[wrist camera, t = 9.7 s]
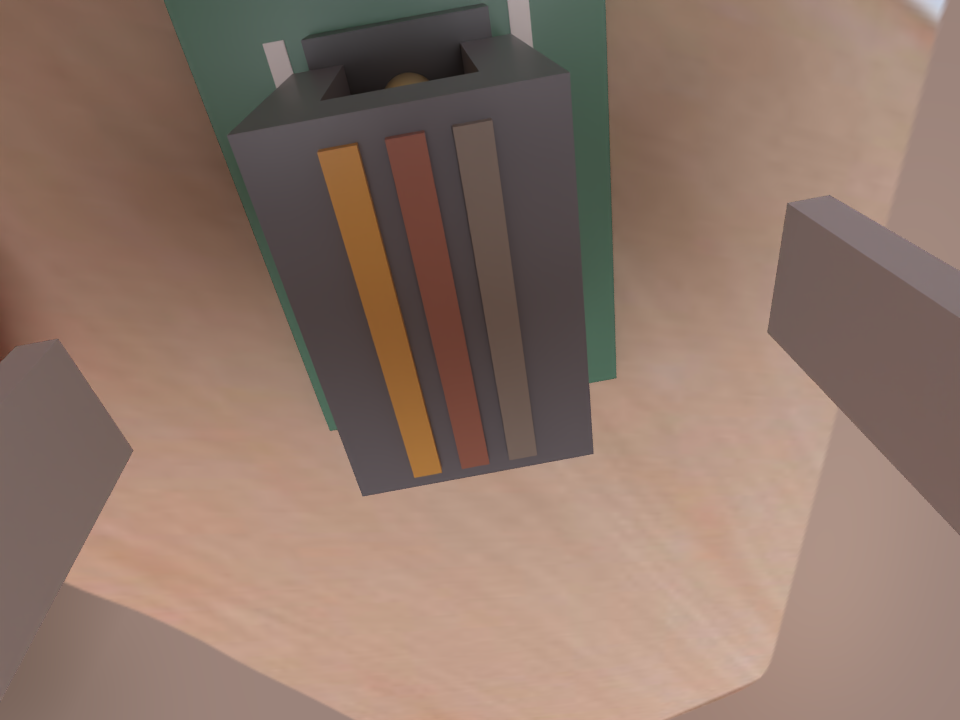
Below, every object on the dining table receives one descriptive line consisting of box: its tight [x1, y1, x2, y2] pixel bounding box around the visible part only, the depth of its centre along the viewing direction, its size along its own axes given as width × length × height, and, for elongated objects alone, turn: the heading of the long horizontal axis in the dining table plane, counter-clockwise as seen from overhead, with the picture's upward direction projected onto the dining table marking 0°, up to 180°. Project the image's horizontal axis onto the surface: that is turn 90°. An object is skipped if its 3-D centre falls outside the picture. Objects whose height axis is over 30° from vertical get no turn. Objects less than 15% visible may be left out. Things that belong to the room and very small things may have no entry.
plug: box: [227, 34, 593, 496], centre depth 16 cm, size 9×6×7 cm, turn 9°
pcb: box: [164, 0, 616, 431], centre depth 18 cm, size 18×12×5 cm, turn 9°
